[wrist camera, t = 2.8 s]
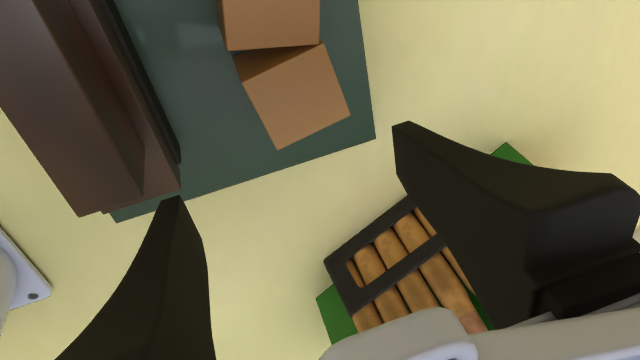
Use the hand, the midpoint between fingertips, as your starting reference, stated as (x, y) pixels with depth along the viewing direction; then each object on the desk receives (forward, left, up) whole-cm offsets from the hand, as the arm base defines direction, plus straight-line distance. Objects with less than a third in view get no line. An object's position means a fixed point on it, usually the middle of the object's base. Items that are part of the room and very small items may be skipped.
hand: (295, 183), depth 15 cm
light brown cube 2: (+2, +4, -9) cm, 10 cm away
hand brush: (-6, +4, -9) cm, 12 cm away
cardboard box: (+2, 0, -9) cm, 9 cm away
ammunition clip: (+6, -14, -10) cm, 18 cm away
